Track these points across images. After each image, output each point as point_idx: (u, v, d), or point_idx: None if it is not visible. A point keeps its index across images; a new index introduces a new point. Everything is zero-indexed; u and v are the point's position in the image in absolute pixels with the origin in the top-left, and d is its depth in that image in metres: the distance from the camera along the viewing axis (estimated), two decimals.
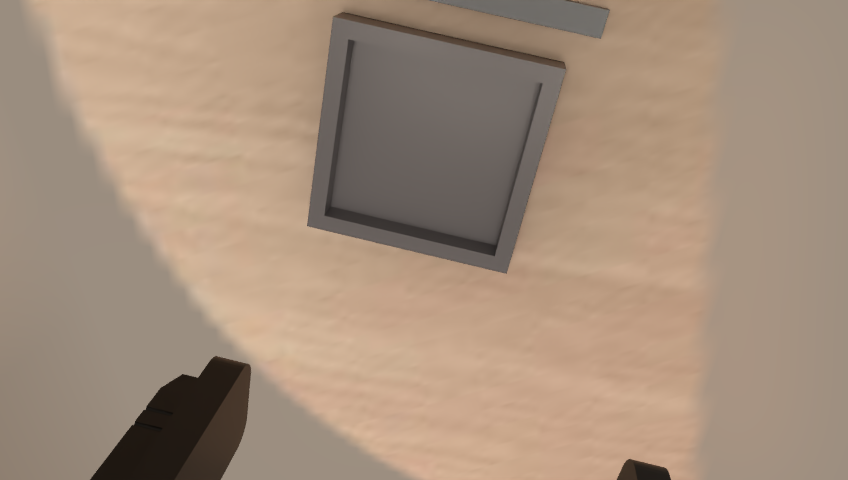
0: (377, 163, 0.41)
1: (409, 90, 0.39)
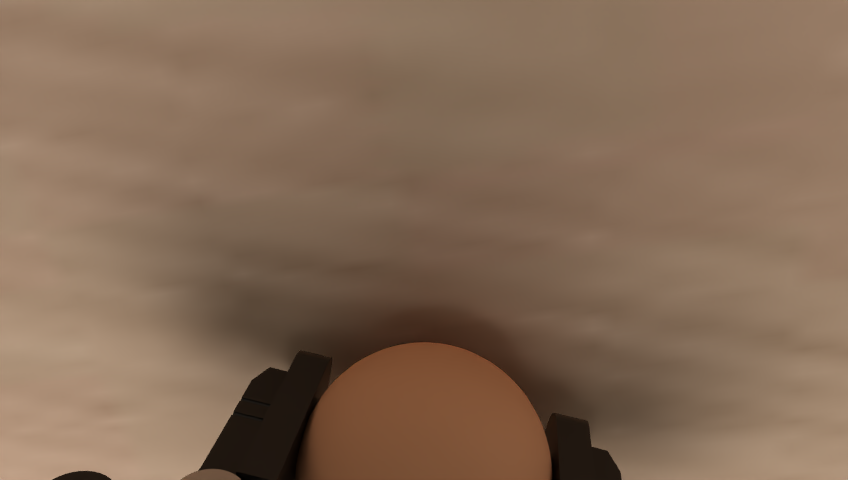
0: None
1: None
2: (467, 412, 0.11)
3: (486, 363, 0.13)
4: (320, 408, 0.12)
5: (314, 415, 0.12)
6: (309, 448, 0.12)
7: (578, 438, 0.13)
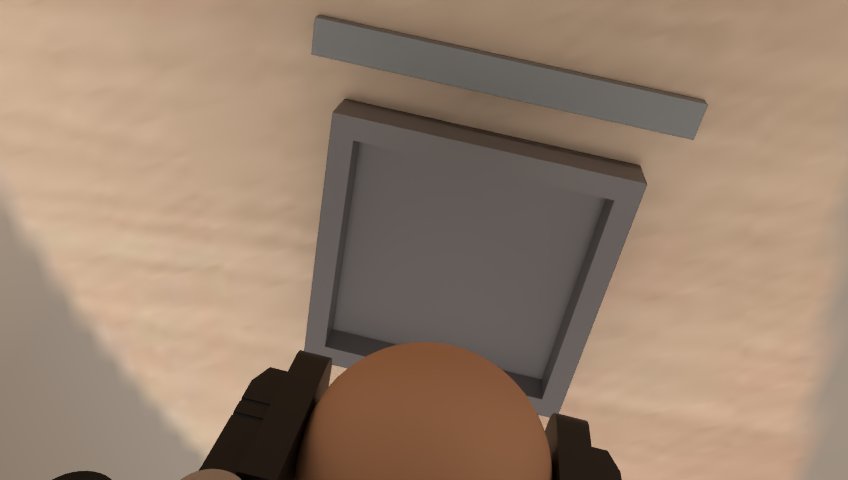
0: (391, 281, 0.32)
1: (433, 197, 0.29)
2: (467, 411, 0.11)
3: (486, 363, 0.13)
4: (320, 408, 0.12)
5: (314, 415, 0.12)
6: (309, 448, 0.12)
7: (578, 438, 0.13)
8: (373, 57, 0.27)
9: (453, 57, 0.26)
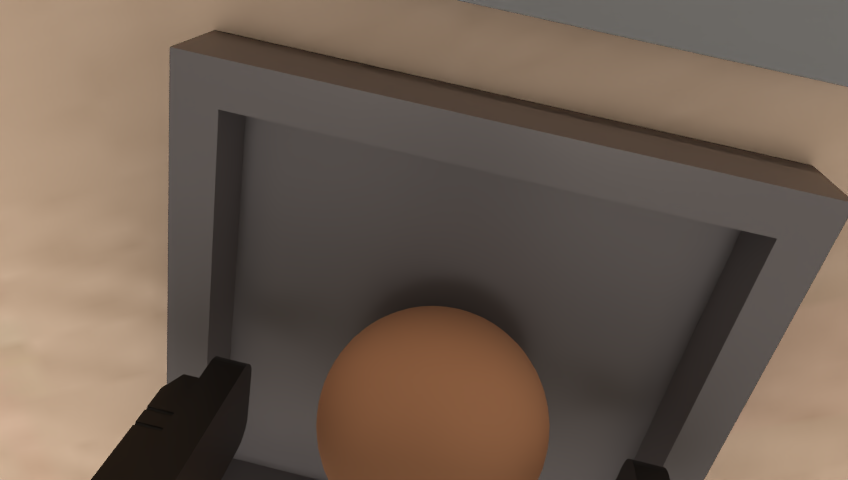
0: (321, 379, 0.17)
1: (394, 228, 0.15)
2: (472, 362, 0.12)
3: (489, 323, 0.14)
4: (339, 363, 0.14)
5: (334, 369, 0.14)
6: (330, 397, 0.13)
7: None
8: None
9: None
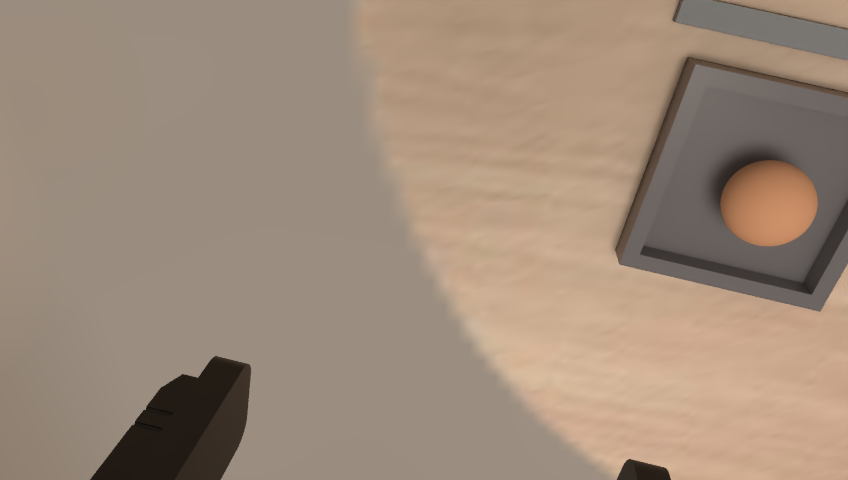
0: (695, 202, 0.41)
1: (746, 133, 0.39)
2: (797, 173, 0.36)
3: None
4: (740, 178, 0.37)
5: (737, 180, 0.37)
6: (741, 188, 0.37)
7: None
8: (724, 24, 0.36)
9: (787, 23, 0.36)
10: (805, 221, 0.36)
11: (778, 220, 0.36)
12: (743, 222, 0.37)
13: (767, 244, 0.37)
